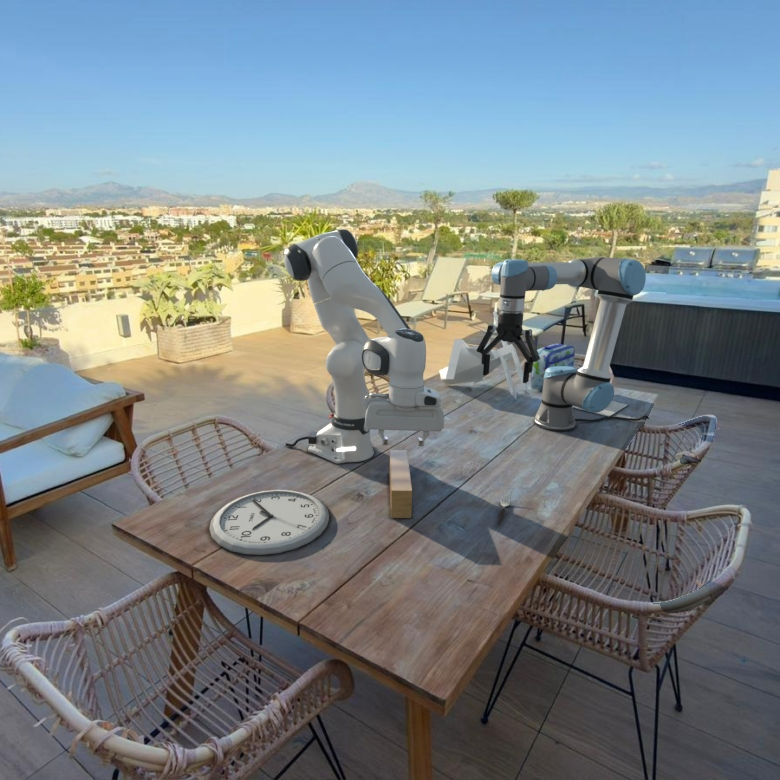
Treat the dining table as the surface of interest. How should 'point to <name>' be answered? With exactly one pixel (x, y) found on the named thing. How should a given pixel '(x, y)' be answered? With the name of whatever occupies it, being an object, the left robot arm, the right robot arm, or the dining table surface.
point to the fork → (504, 504)
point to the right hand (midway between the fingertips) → (505, 378)
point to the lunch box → (551, 362)
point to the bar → (400, 484)
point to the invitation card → (610, 408)
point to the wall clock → (269, 522)
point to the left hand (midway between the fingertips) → (402, 444)
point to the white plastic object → (480, 364)
